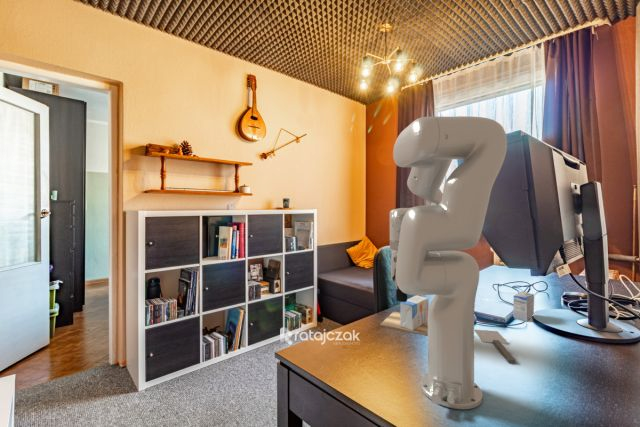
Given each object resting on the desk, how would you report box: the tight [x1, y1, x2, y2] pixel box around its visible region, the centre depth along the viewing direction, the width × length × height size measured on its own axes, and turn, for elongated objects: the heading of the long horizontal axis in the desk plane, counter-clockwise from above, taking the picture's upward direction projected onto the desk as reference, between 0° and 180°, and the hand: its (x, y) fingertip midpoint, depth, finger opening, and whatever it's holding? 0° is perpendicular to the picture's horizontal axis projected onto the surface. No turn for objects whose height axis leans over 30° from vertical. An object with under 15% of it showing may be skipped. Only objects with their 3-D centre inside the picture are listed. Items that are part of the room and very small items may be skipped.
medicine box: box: [512, 291, 535, 322], centre depth 110 cm, size 8×4×9 cm, turn 130°
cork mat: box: [379, 311, 428, 337], centre depth 106 cm, size 15×16×1 cm
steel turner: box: [474, 329, 517, 365], centre depth 88 cm, size 21×7×1 cm, turn 168°
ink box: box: [399, 295, 430, 330], centre depth 105 cm, size 8×5×15 cm
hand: (401, 300), depth 99 cm, fingers closed
